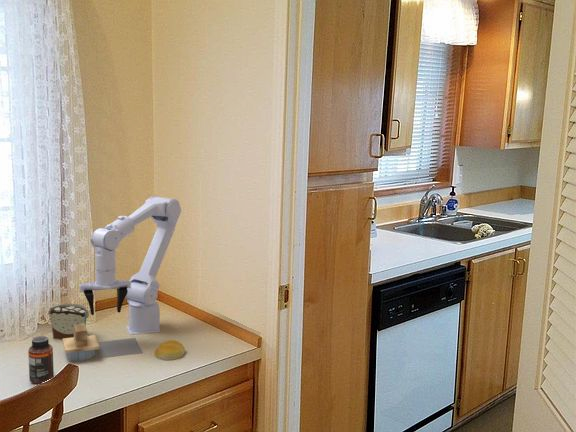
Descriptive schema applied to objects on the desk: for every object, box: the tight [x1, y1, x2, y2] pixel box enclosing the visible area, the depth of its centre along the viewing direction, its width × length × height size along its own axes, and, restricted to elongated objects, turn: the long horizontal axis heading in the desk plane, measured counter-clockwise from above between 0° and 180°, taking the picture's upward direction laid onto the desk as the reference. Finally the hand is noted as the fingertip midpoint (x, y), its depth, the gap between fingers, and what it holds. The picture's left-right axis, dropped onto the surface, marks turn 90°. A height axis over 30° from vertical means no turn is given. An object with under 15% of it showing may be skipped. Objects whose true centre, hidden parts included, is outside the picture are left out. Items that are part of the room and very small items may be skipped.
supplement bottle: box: [27, 335, 55, 385], centre depth 158 cm, size 6×6×11 cm
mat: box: [96, 337, 144, 359], centre depth 181 cm, size 12×12×1 cm
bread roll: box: [153, 339, 186, 361], centre depth 178 cm, size 8×9×4 cm
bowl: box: [65, 350, 96, 362], centre depth 174 cm, size 8×8×4 cm
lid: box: [61, 323, 99, 354], centre depth 173 cm, size 9×9×5 cm
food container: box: [47, 303, 90, 340], centre depth 187 cm, size 12×6×10 cm, turn 84°
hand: (105, 312), depth 182 cm, fingers open, 7 cm apart
